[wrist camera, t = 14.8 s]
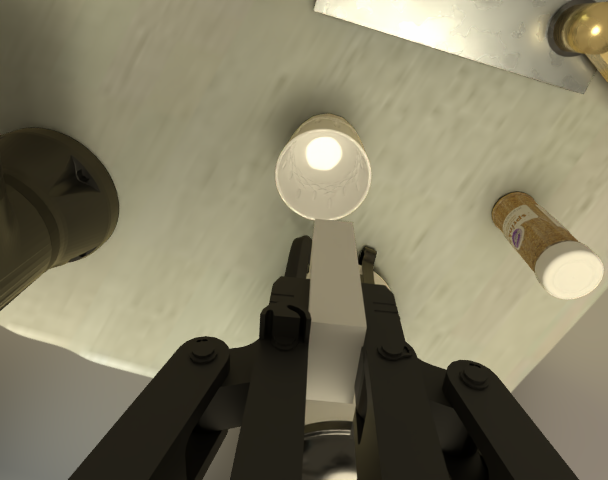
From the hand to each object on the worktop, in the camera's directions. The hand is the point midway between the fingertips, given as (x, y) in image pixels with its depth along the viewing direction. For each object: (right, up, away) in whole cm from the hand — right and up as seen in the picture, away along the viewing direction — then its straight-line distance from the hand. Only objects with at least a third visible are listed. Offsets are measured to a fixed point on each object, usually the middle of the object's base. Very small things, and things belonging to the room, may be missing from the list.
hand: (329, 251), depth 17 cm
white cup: (+1, +10, +27) cm, 29 cm away
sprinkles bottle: (+21, +4, +29) cm, 36 cm away
